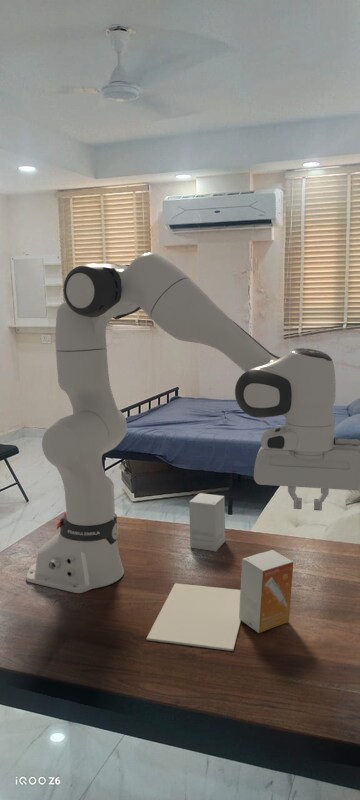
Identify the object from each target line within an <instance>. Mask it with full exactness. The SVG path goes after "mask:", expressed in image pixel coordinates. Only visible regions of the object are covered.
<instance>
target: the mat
mask: <svg viewBox="0 0 360 800" xmlns="http://www.w3.org/2000/svg"><path fill="white" fill-rule="evenodd" d="M240 590H241V589H235V588H225V587H217V586H216V587H215V586H205V585H204V586H203V585H194V584H186V583H176V582H175V583H174V585H173V586H172V588H171V590H170V592H169V594H168V596H167V598H166V600H165V601H164V604H163V605H162V608H161V610H160V611H159V613H158V615H157V617H156V619H155V620H154V623H153V625H152V627H151V629H150V630H149V633H148V635H147V637H146V641H151V642H160V643H166V644H168V643H169V644H173V645H174V644H175V645H181V646H182V645H184V646H190V647H191V646H192V647H199V648H207V649H214V650H221V651H228V652H231V651H232V652H234V650H235V646H236V641H237V637H238V634H239V630H240V626H241V623H242V621H241V620H240V619H239V608H240Z"/></svg>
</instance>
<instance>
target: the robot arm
mask: <svg viewBox="0 0 360 800" xmlns="http://www.w3.org/2000/svg"><path fill="white" fill-rule="evenodd" d="M62 290H63V298H64V301H63V302H62V303H61V304H60V305H59V306H58V308H57V313H56V320H55V333H54V334H55V339H54V340H55V356H56V370H57V382H58V386H59V387H60V390H62V391H63V392H64V393H66V395H67V396H68V399H69V401H70V404H71V408H72V414H70V415H66V416H64V417H62V418H60V419H58V420H57V421H56V422H54V423H53V424H52V425H50V426H49V427H48V428H47V429H46V430H45V432H44V434H43V436H42V441H41V446H42V452H43V455H44V457H45V458H46V459H47V461H48V462H49V463H50V464H51V465H53V466H54V467H56V469H57V471H58V472H59V475H60V477H61V480H62V483H63V487H64V489H63V490H64V498H65V500H64V501H65V510H66V512H65V513H64V516H63V517H61V518H60V519H59V521H58V522H57V523H56V529H57V530H58V529H59V528H60V531H59V532H57V533H56V534H55V535H54V536H52V537H51V538H50V539H48V541H46V542H45V543H44V544H43V545H42V546H41V547H40V549H39V550H38V551H37V552H38V553H37V556H36V561H35V562H34V563H33V564H32V565H31V566H30V567H29V569H28V571H27V572H26V581H27V582H28V583H32V584H37V585H40V586H45V587H48V588H53V589H57V590H60V591H61V590H62V591H65V592H70V593H73V594H83V593H85V592H88V591H90V590H93V589H98V588H102V587H106V586H110V585H112V584H114V583H116V582H117V581H119V580H120V579H121V578H122V577H123V575H124V573H125V568H124V567H123V564H122V560H121V557H120V551H119V545H118V536H119V526H118V525H119V524H118V517H117V514H116V511H115V510H116V509H115V485H114V482H113V479H111V478H110V477H109V476H107V474H106V472H105V469H104V466H103V460H102V458H103V455H105V454H106V453H108V452H110V451H113V450H114V449H115V448H117V446H118V445H119V444H121V442H122V441H123V440H124V438H125V437H126V435H127V432H128V422H127V418H126V417H125V415H124V413H123V412H122V410H120V409H119V408H118V406H117V403H116V401H115V398H114V394H113V391H112V389H111V383H110V375H109V363H108V362H109V361H108V350H107V348H108V347H107V337H106V336H107V335H106V333H107V331H106V330H107V325H108V323H109V322H110V321H111V320H112V319H114V320H119V319H122V318H124V317H126V316H127V317H128V316H129V315H133V314H135V313H137V312H139V311H140V310H142V311H143V312H144V313H146V315H147V316H148V317H149V318H150V319H151V320H152V321H153V322H154V323H155V324H156V325H157V326H158V327H159V328H160V329H161V330H163V331H164V332H165V333H167V334H168V335H170V336H171V337H173V338H175V339H176V340H178V341H182V342H189V343H194V344H195V343H196V344H200V345H205V346H208V347H211V348H214V349H215V350H218V351H220V352H221V353H223V354H224V355H225V356H226V357H227V358H229V359H230V360H231V361H232V362H233V363H234V364H235V365H236V366H238V368H240V369H241V370H243V372H244V373H243V374H241V375H240V376H239V378H238V379H237V381H236V383H235V388H234V396H235V397H234V398H235V400H236V403H237V405H238V407H239V408H240V410H241V411H242V412H243V413H245V414H246V415H247V416H250V417H252V418H259V419H260V418H262V419H267V418H271V417H273V418H274V417H279V416H281V417H282V416H283V417H284V419H285V423H284V424H285V425H282V426H279V427H275V428H271V429H268V430H266V431H264V432H263V434H262V435H261V439H260V444H261V445H260V448H259V450H258V452H257V453H256V454H257V455H256V458H255V462H254V467H253V469H254V470H253V480H254V481H255V483H256V485H260V486H262V485H263V486H275V487H276V486H278V487H287V492H288V494H289V496H290V498H291V499H292V501H293V509H294V510H302V508H303V506H302V505H303V504H302V503H303V498H302V497H298V495H297V494H296V490H297V488H311V489H320V493H321V494H320V496H319V497H318V498H314V500H313V501H314V502H313V504H314V505H313V511H318V512H319V511H320V512H322V511H323V503H324V501H325V500H326V498H327V497H328V496H329V494H330V493H329V490H343V491H357V492H358V491H360V439H355V438H354V439H353V438H352V439H348V438H347V439H346V438H338V437H337V438H335V427H336V426H335V424H336V423H335V421H336V420H335V417H334V404H335V401H336V396H337V395H336V389H337V388H336V385H337V383H336V369H335V364H334V361H333V359H332V358H331V356H330V355H329V354H328V353H326V352H323V351H320V350H317V349H312V348H304V347H301V348H294V349H291V350H290V351H289V352H288V353H287V354H285V355H284V356H281V357H280V356H277V355H276V354H273V353H272V352H271V351H269V350H268V349H267V348H266V347H264V346H263V345H262V344H261V343H260V342H259V341H257V340H256V339H255V338H254V337H253V336H251V335H250V334H249V333H248V332H247V331H246V330H244V328H243V327H241V325H239V324H238V323H236V322H235V321H234V320H233V319H231V318H230V316H228V314H227V313H225V312H224V311H223V310H222V309H221V308H220V307H219V306H218V305H217V304H216V303H215V302H214V301H213V300H212V298H210V297H209V296H208V294H206V293H205V291H203V290H202V289H201V287H200V286H198V285H197V284H196V283H195V282H194V281H193V280H192V279H191V278H190V277H189V276H188V275H187V274H186V273H184V272H183V271H182V270H181V269H180V268H179V267H177V266H176V265H175V264H173V263H172V262H171V261H169V260H168V259H166V258H165V257H163V256H161V255H159V254H158V253H155V252H145V253H143V254H140V255H139V256H137V257H135V258H134V259H133V260H132V261H131V262H130V264H121V263H117V262H116V263H115V262H104V263H93V262H92V263H84V264H81V265H78V266H76V267H74V268H73V269H71V270H70V271H69V273H67V275H66V277H65V279H64V282H63V289H62Z"/></svg>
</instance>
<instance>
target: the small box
mask: <svg viewBox="0 0 360 800" xmlns="http://www.w3.org/2000/svg"><path fill="white" fill-rule="evenodd" d="M293 571H294V561H293V560H292V559H290V558H288V557H286V556H284V555H282V554H280V553H279V552H277V551H276V550H273V549H271V550H267V551H264V552H260V553H255V554H253V555H250V556H247V557H244V558H242V559H241V571H240V572H241V573H240V574H241V576H240V589H239V590H240V608H239V619H240V620H241V622H243V623H244V624H246V625H247V626H248V627H250V628H251V629H252V630H254V631H255V632H257V633H258V634H261V633H263V632H265V631H268V630H271V629H273V628H276V627H278V626H281V625H284V624H287V623H289V621H290V615H291V614H290V611H291V610H290V609H291V599H292V598H291V596H292V587H293V586H292V585H293V584H292V583H293Z"/></svg>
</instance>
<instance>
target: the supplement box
mask: <svg viewBox="0 0 360 800" xmlns="http://www.w3.org/2000/svg"><path fill="white" fill-rule="evenodd" d="M225 500H226V499H225V495H219V494H209V493H202V492H200V493H198V494H197V495H195V496H194V497H193V498H192V499H190V500H189V502H188V505H189V506H188V508H189V542H190V544H189V545H190V548H193V549H197V550H198V549H199V550H206V551H209V552H218V550H219V549H220V548H221V546H222V545H223V544H224V543H225V542H226V517H225V516H226V515H225V513H226V508H225V507H226V505H225V504H226V503H225V502H226V501H225Z"/></svg>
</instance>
